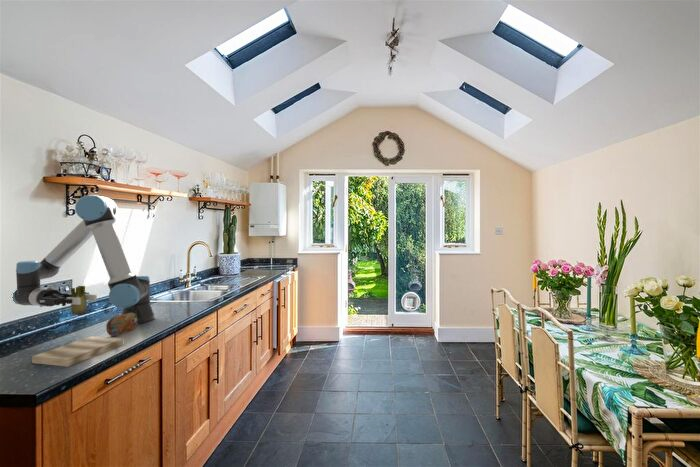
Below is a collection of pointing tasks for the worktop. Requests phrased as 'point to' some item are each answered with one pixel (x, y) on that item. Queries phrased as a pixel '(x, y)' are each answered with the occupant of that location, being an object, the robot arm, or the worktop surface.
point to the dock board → (77, 351)
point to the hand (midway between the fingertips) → (87, 299)
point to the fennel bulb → (83, 306)
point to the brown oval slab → (122, 324)
